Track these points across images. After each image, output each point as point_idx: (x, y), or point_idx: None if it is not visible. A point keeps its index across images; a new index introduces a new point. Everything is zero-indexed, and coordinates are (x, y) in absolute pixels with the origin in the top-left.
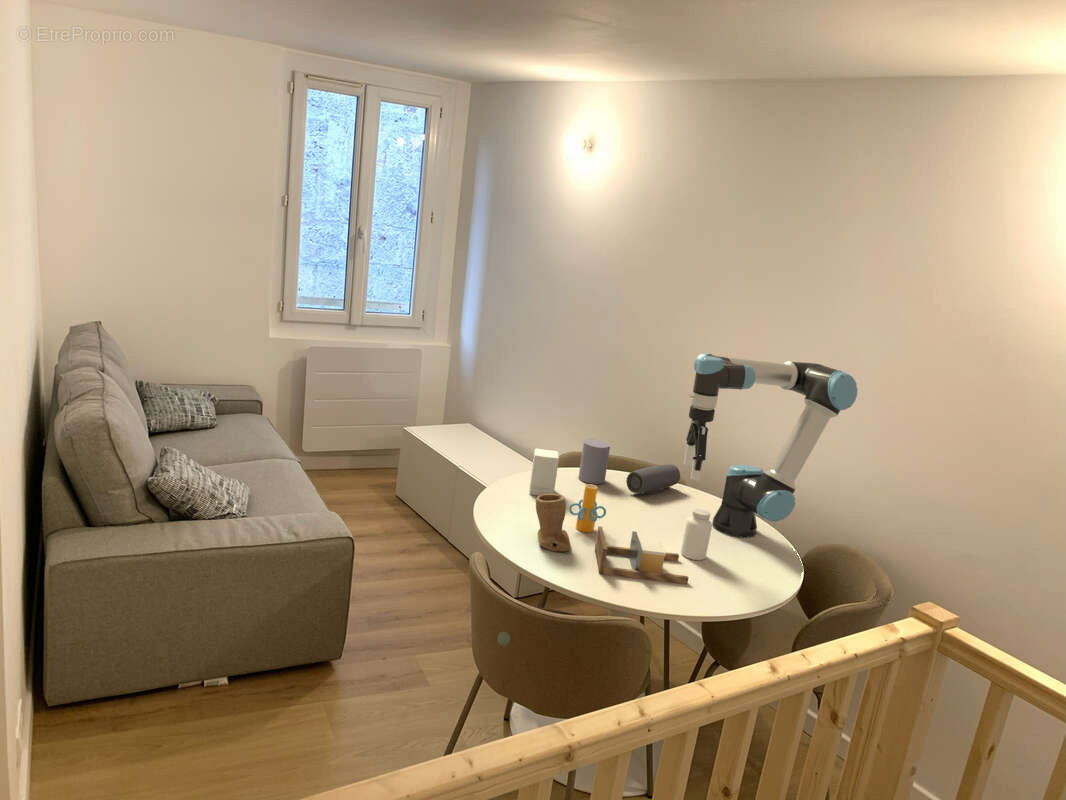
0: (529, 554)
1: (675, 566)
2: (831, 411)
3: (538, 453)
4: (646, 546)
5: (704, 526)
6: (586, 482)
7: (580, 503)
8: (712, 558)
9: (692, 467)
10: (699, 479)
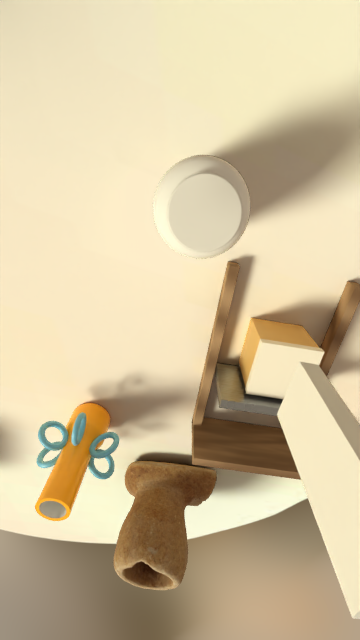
0: (218, 509)
1: (264, 279)
2: None
3: None
4: (283, 386)
5: (248, 209)
6: None
7: (42, 457)
8: (214, 143)
9: (312, 497)
10: (321, 371)
